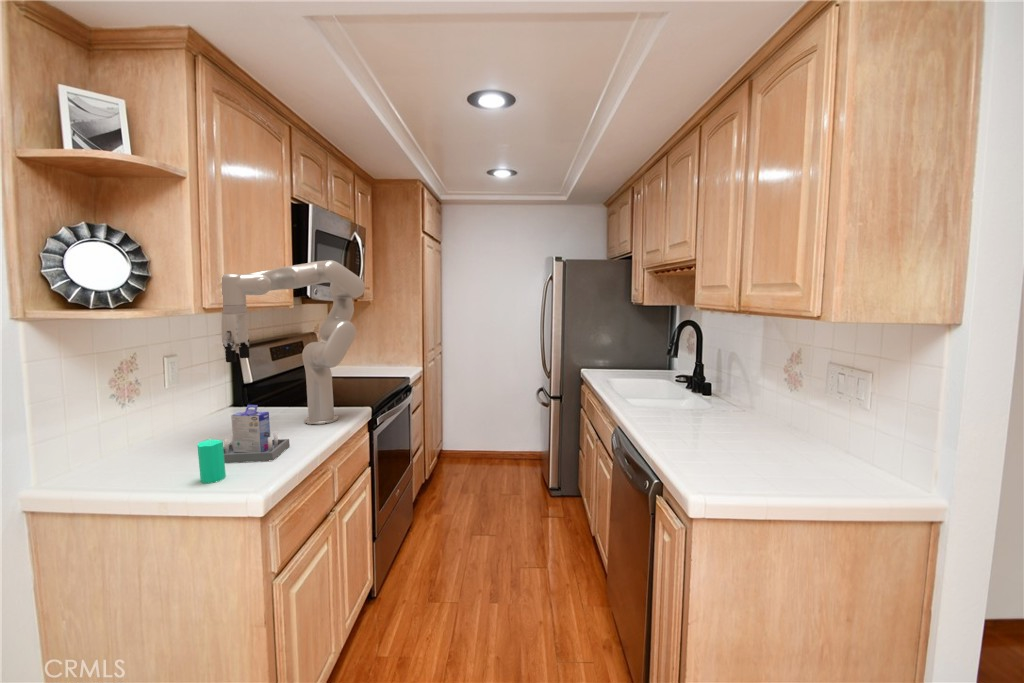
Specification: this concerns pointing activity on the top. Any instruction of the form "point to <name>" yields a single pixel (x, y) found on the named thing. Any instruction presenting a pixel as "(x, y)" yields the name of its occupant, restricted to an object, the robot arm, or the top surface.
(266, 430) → the ink cartridge box
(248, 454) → the pin tray
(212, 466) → the candle
